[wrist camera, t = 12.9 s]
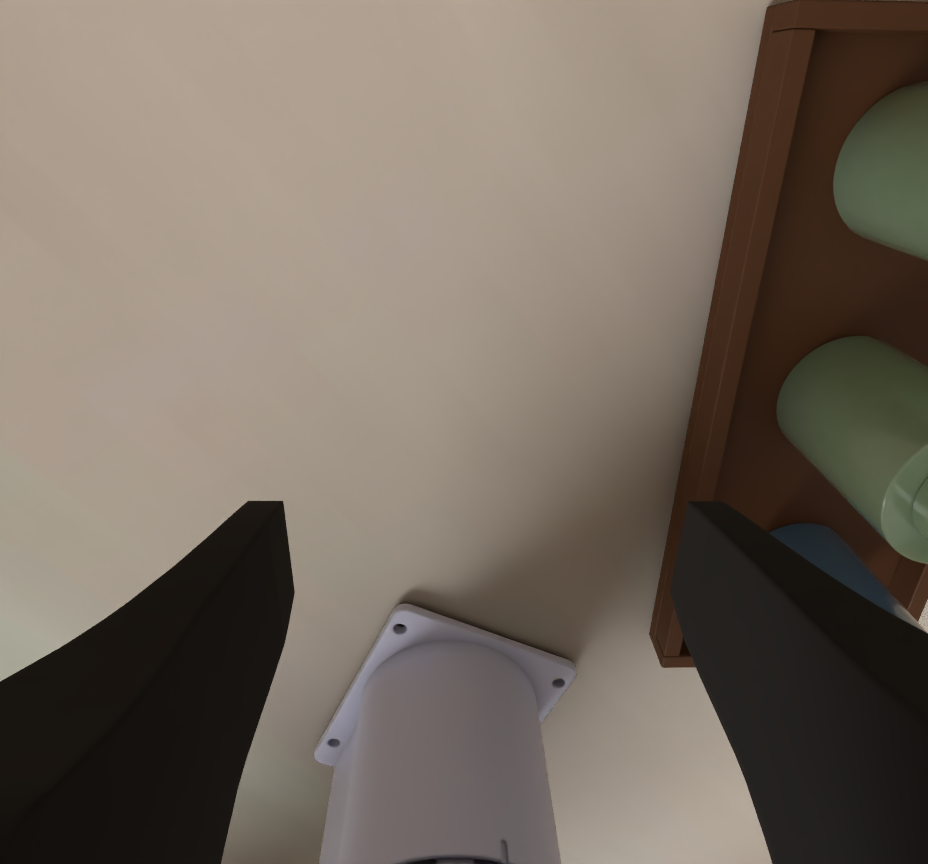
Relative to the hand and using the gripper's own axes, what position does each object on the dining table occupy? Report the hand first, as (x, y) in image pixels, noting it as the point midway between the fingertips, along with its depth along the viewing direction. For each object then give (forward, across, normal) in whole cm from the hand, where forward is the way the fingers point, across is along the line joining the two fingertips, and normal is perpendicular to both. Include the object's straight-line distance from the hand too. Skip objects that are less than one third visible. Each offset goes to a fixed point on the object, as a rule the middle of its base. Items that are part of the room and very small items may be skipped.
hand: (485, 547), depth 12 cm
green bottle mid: (+10, -12, +1) cm, 16 cm away
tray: (+10, -12, +1) cm, 16 cm away
